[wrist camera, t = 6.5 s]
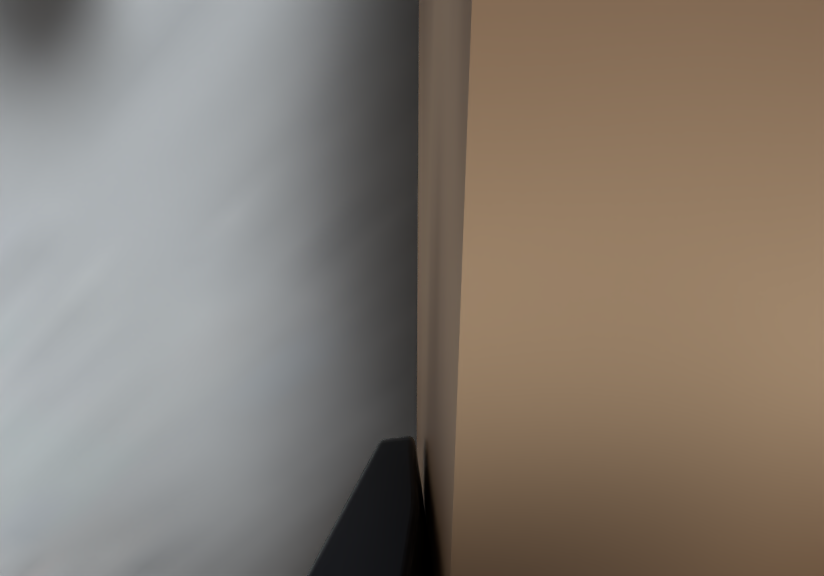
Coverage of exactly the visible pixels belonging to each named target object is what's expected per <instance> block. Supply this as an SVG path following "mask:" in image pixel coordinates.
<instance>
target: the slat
mask: <svg viewBox="0 0 824 576" xmlns="http://www.w3.org/2000/svg"><path fill="white" fill-rule="evenodd" d="M417 458H418V464H419V471H420V478H421V485H422V492H423V500H424V508H425V517H426V527H427V537H428V547H429V558H430V568H431V576H824V0H419V92H418V288H417Z"/></svg>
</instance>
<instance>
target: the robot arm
mask: <svg viewBox="0 0 824 576" xmlns="http://www.w3.org/2000/svg"><path fill="white" fill-rule="evenodd" d="M307 576H431V568H430V558H429V547H428V537H427V527H426V517H425V508H424V500H423V492H422V485H421V478H420V471H419V464H418V458H417V451H416V445H415V441H414V439H413V438H412V437H410V436H406V437H399V438H391V439H384V440H382V441H381V442H380V443H379V444H378V446H377V447H376V449H375V451H374V453H373V455H372V457H371V459H370V460H369V462H368V464H367V466H366V468H365V470H364V471H363V473H362V475H361V477H360V479H359V481H358V483H357V484H356V486H355V488H354V490H353V492H352V494H351V495H350V497H349V499H348V501H347V503H346V505H345V507H344V508H343V510H342V512H341V514H340V516H339V518H338V519H337V521H336V523H335V525H334V527H333V529H332V531H331V532H330V534H329V536H328V538H327V540H326V542H325V543H324V545H323V547H322V549H321V551H320V553H319V555H318V556H317V558H316V560H315V562H314V564H313V566H312V567H311V569H310V571H309V573H308V575H307Z"/></svg>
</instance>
